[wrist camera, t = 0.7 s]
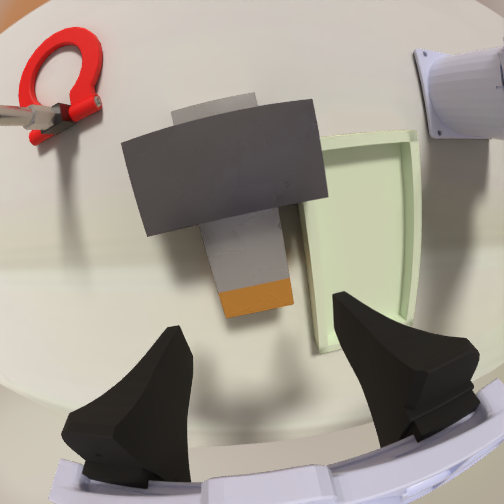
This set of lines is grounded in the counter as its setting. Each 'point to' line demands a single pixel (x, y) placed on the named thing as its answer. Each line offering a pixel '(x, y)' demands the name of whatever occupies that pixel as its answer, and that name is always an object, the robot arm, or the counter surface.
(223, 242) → the pin
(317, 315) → the tray
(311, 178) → the bracket
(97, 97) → the tow hook
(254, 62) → the counter surface
